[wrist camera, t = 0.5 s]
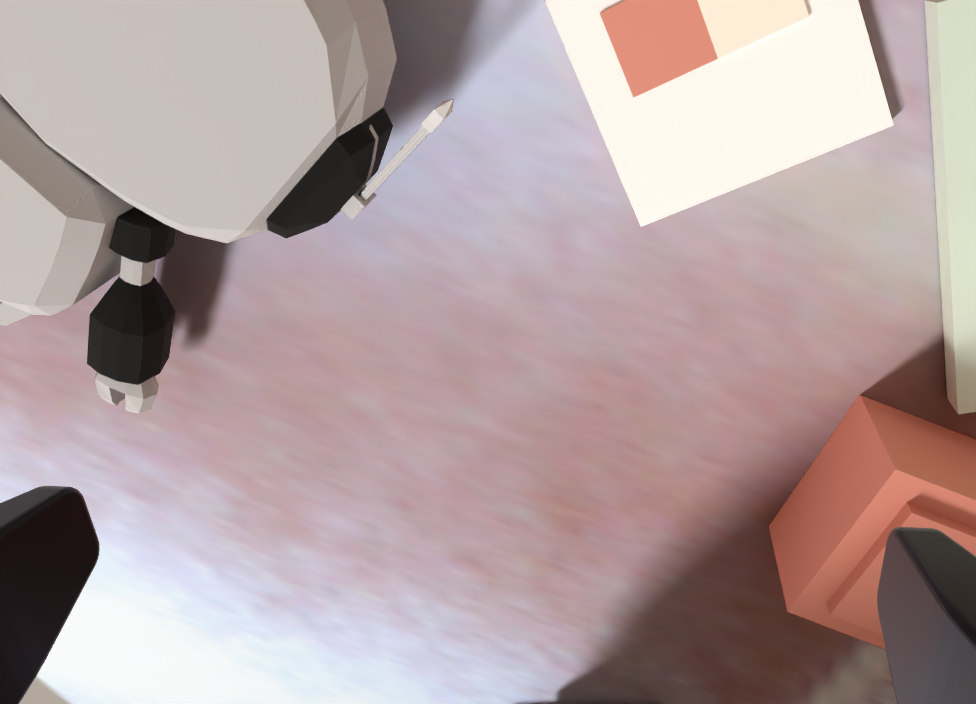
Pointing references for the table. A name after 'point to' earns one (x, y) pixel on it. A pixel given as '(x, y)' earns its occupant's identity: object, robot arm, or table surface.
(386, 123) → the robot toy
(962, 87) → the plate
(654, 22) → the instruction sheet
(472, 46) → the table surface
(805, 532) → the red block
